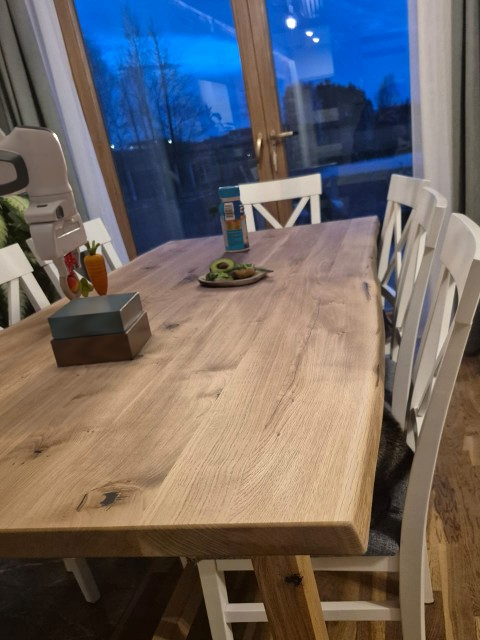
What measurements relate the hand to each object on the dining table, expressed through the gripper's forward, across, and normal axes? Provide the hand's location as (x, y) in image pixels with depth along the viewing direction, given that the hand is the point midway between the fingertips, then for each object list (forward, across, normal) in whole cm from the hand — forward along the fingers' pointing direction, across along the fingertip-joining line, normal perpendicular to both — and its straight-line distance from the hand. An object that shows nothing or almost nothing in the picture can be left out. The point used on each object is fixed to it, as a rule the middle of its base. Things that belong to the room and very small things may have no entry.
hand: (70, 272), depth 130 cm
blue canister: (+10, -66, +30) cm, 73 cm away
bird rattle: (+7, 0, 0) cm, 7 cm away
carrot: (+11, -17, 0) cm, 20 cm away
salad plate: (+10, -24, +33) cm, 42 cm away
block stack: (+10, +25, +14) cm, 30 cm away
